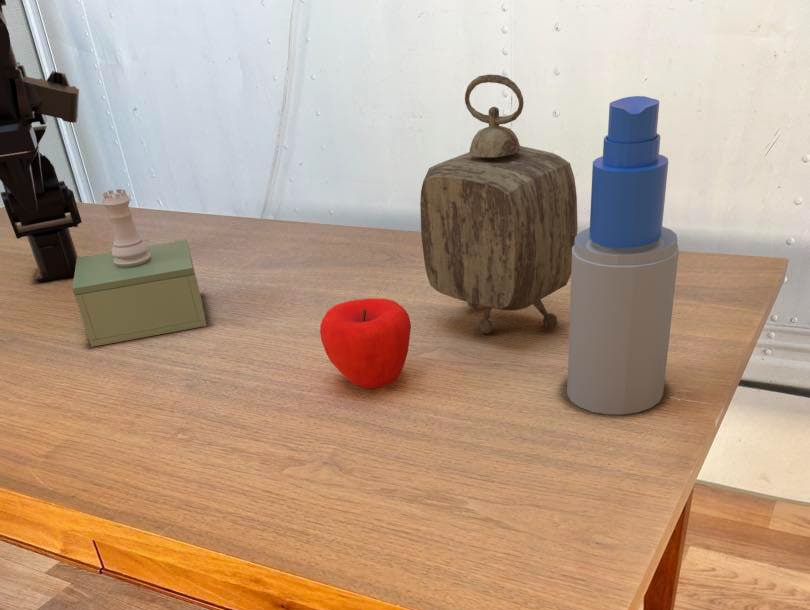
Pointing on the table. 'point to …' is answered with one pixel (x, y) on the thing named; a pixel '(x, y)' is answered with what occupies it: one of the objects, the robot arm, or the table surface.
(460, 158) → the tabletop clock
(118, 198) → the rook chess piece
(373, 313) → the apple
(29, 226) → the robot arm
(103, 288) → the chest lid
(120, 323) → the chest
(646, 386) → the spray bottle
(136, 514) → the table surface
